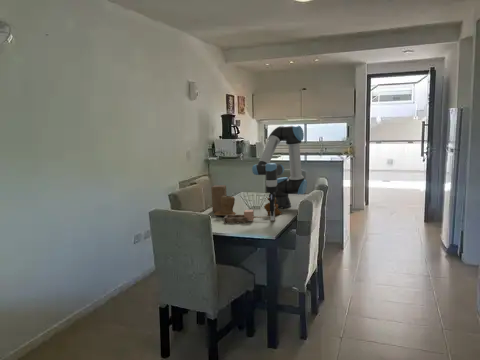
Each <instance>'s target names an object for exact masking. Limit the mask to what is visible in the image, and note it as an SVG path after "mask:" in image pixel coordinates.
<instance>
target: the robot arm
mask: <svg viewBox="0 0 480 360" xmlns="http://www.w3.org/2000/svg"><path fill="white" fill-rule="evenodd" d="M304 137H305V134H304V130H303V127H302V126H301V125H297V124H294V125H293V124H291V125H280V126H277V127H276V128H274V129H273V130H272V132H271V133H270V134H269V136H268V138H267V142H266V146H265V147H264V150H263V152H262V154H261V157H260V158H259V161H258V162H257V164H254V165H252V168H251V171H252V172H251V173H252V174H253V175H256V176H265V181H264V183H265V185H266V187H265V188H266V189H265V190H266V193H268V198H269V200H268V202H269V201H270V202H269V203H270V210H269V211H270V218H269V219H271V220H275V221H276V217H275V218H274V204H275V198H276V204H278V209H287V208H288V209H289V208H290V207H291V206H292V203H291V200H290V197H289V195H298V196H299V195H304V194H305V193H306V192H307V188H308V181H307V179H305V176H304V175H302V174H303V173H302V162H301V161H302V160H301V158H302V157H301V147H300V145H301V144H302V141H303V140H304ZM281 142H285V144H286V146H287V147H288V159H289V160H288V161H289V172H290V173H289V175H290V176H289V177H288V176H287V177H286V176H285V177H283V176H282V177H279V178H278V176H281V175H282V174H284V172H285V167H284V165H283V164H282V163H281V164H280V163H276V162H271V161H272V158H273V156H274V153H275V152H276V149H277V147H278V145H279V144H280V143H281ZM275 209H276V207H275Z"/></svg>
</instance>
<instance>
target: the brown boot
mask: <svg viewBox="0 0 480 360" xmlns="http://www.w3.org/2000/svg"><path fill="white" fill-rule="evenodd" d="M235 201H236V199H235V197H234V196H230V195H229V196H228V195H227V196H222V197H221V206H222V210H221V211H216V212H213V215H214V216H217V217H225V216H226V215H237V213H236V212H235V211H234V207H235Z"/></svg>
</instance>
